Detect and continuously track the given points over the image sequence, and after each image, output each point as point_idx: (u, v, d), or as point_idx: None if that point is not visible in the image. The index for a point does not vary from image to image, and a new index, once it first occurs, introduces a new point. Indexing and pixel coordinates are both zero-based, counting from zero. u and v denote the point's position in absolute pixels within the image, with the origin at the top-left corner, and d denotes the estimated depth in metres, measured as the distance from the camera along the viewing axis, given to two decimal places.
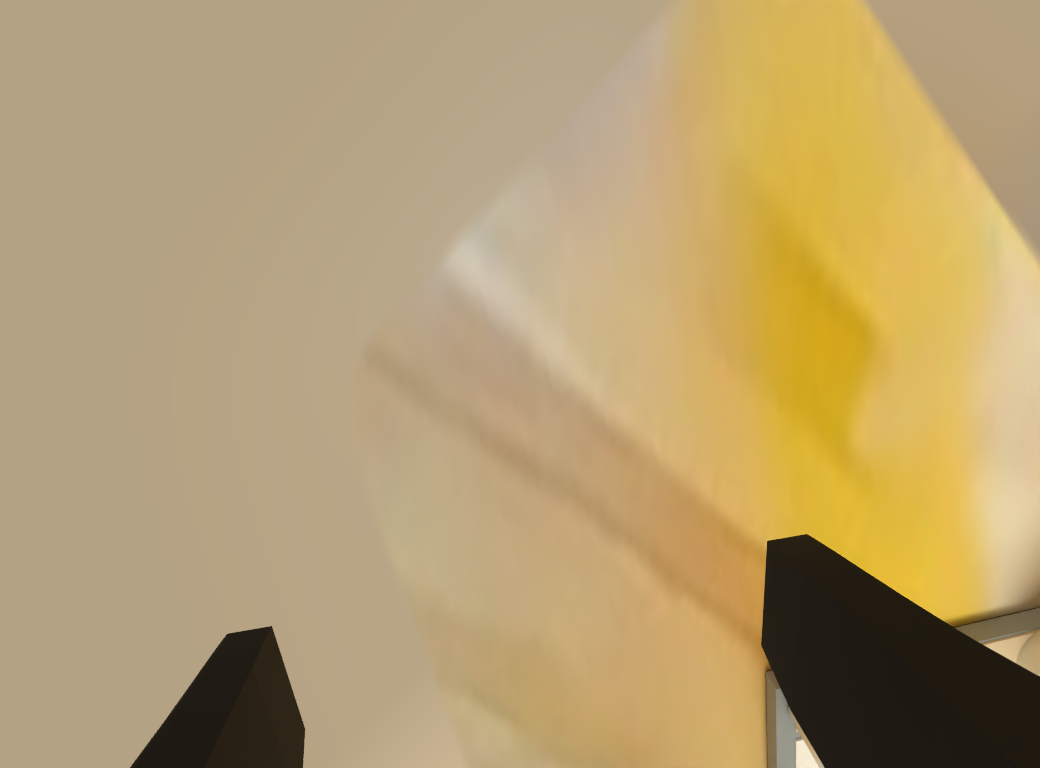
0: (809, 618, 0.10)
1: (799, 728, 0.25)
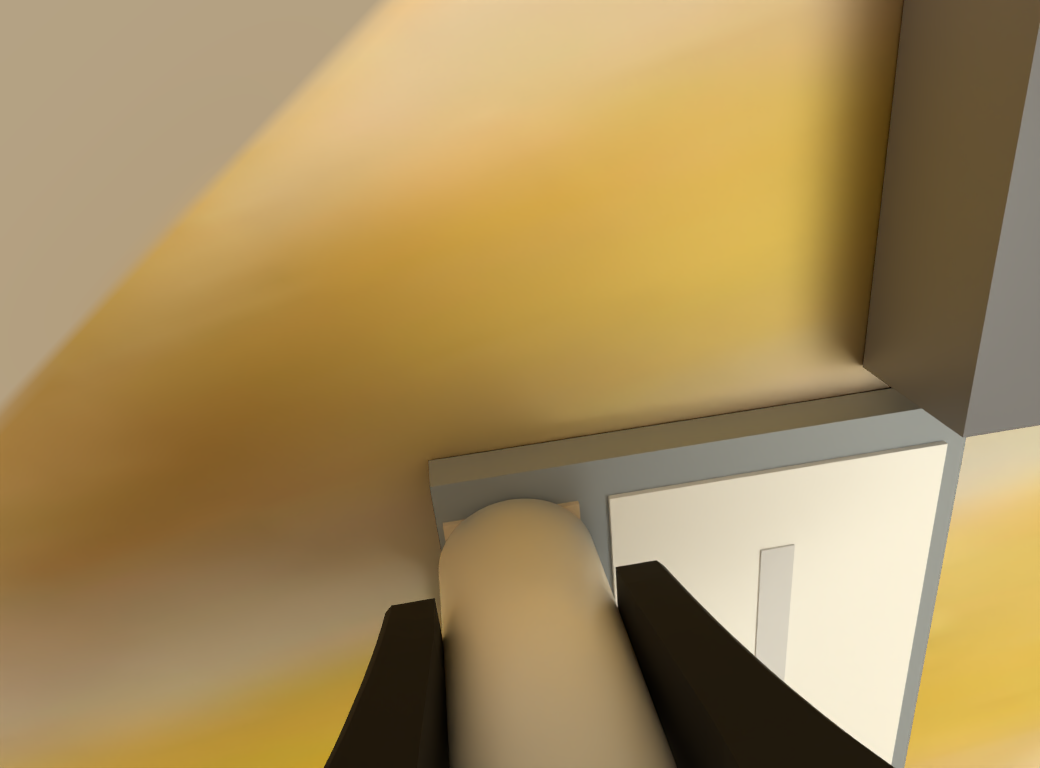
0: (642, 649, 0.09)
1: None
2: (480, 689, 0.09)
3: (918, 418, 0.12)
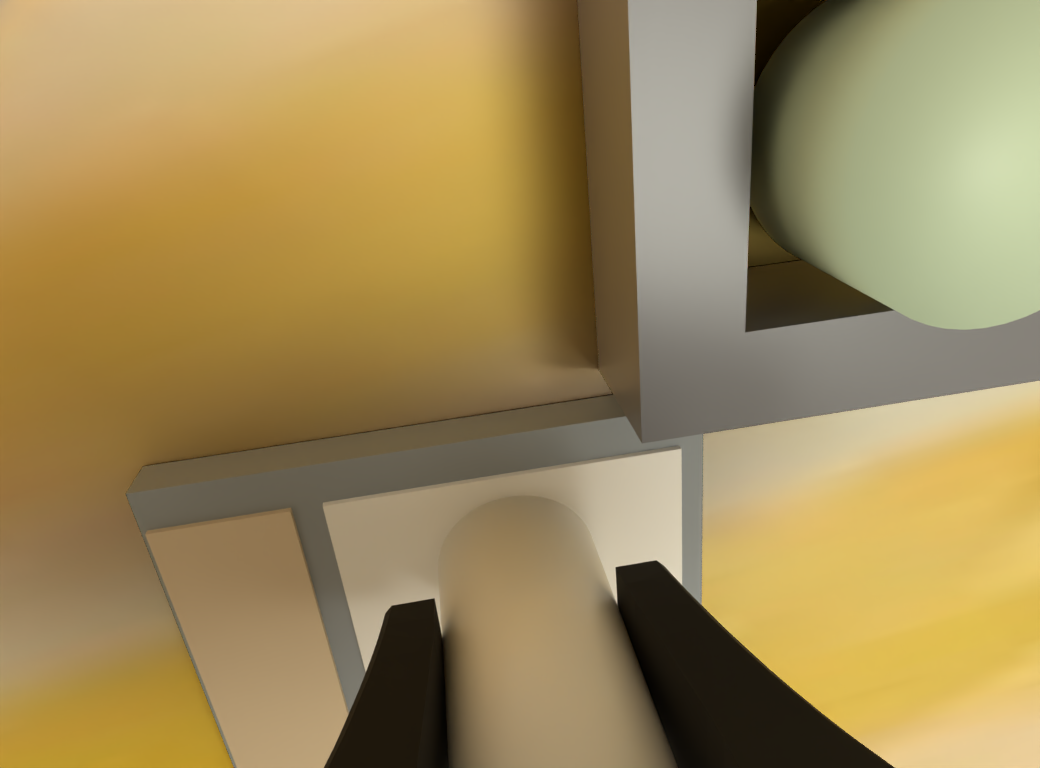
0: (642, 649, 0.09)
1: None
2: (480, 686, 0.09)
3: None
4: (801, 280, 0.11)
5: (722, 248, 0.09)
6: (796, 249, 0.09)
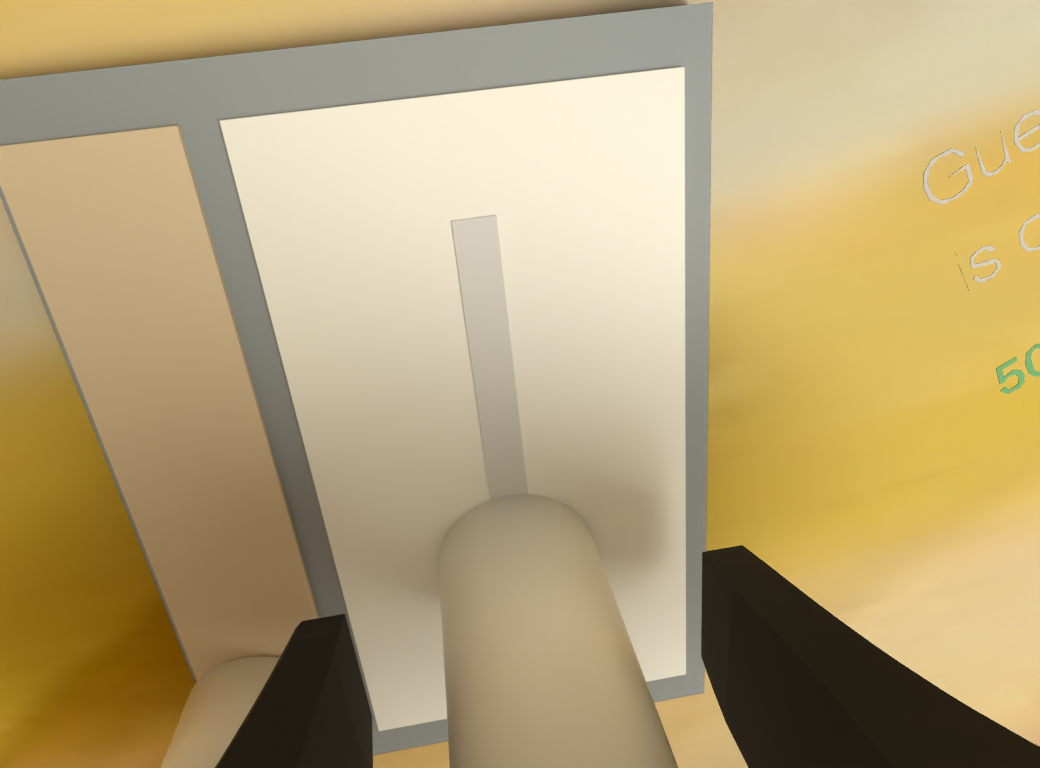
0: (737, 631, 0.09)
1: None
2: (480, 682, 0.09)
3: (640, 26, 0.09)
4: None
5: None
6: None
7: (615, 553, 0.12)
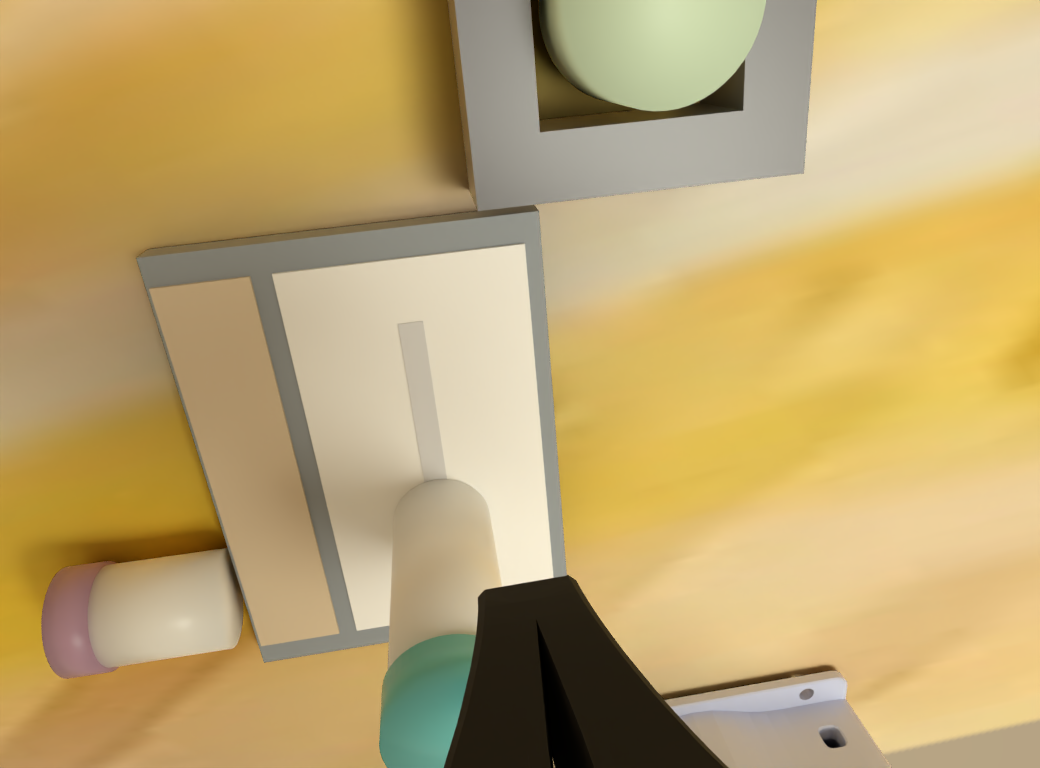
0: (544, 666, 0.09)
1: (196, 652, 0.19)
2: (406, 574, 0.16)
3: (499, 223, 0.17)
4: (598, 117, 0.16)
5: (518, 71, 0.14)
6: (570, 77, 0.14)
7: (503, 517, 0.20)
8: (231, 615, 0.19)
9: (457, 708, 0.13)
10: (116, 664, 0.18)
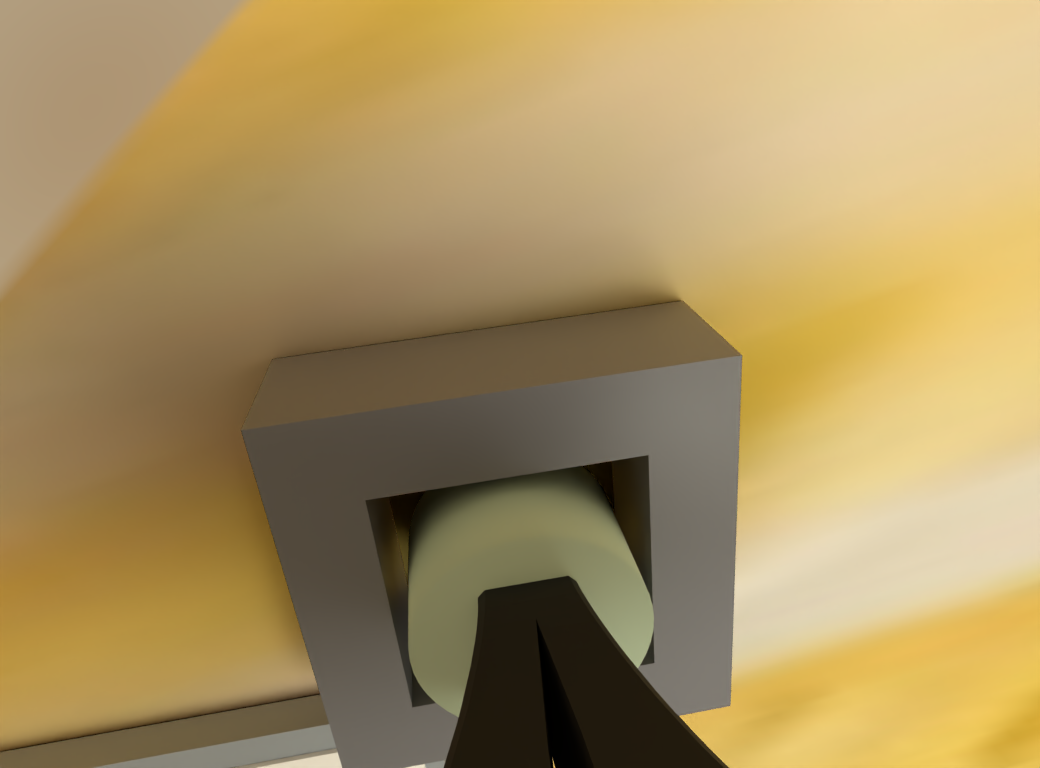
0: (544, 666, 0.09)
1: None
2: None
3: None
4: None
5: (381, 660, 0.12)
6: None
7: None
8: None
9: None
10: None
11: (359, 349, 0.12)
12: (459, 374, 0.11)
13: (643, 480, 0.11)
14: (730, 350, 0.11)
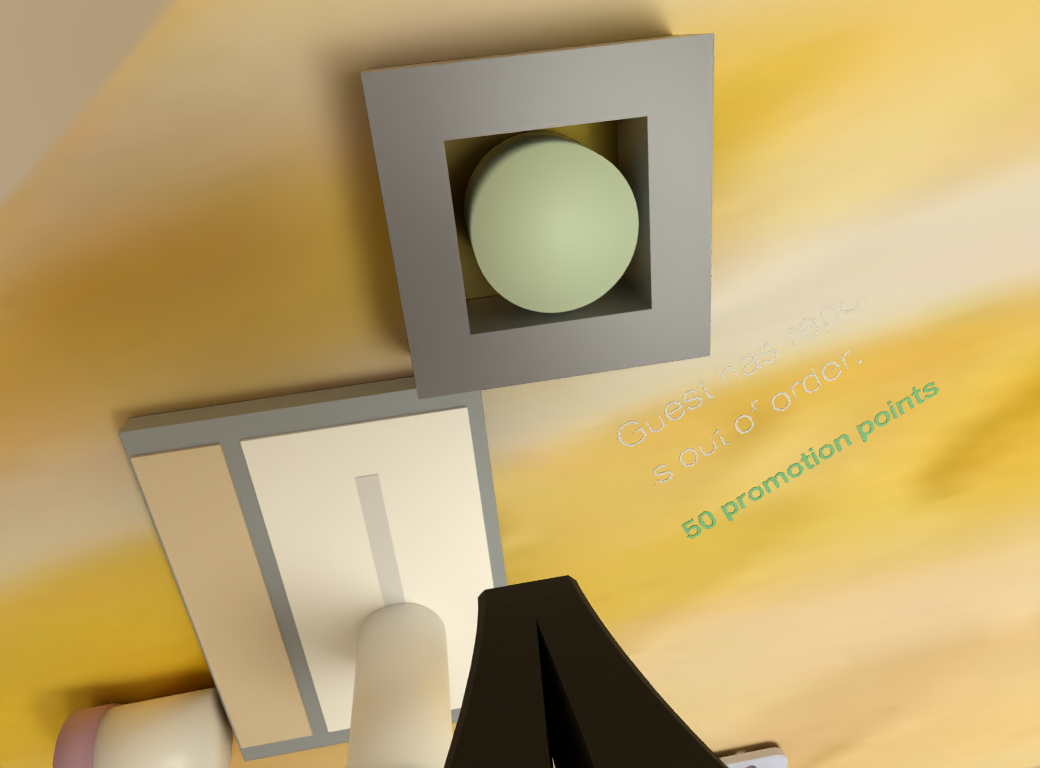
0: (544, 666, 0.09)
1: None
2: (363, 709, 0.18)
3: None
4: None
5: (449, 288, 0.16)
6: None
7: (459, 632, 0.22)
8: (223, 741, 0.22)
9: None
10: None
11: (432, 62, 0.16)
12: (510, 55, 0.15)
13: (643, 146, 0.16)
14: (706, 34, 0.15)
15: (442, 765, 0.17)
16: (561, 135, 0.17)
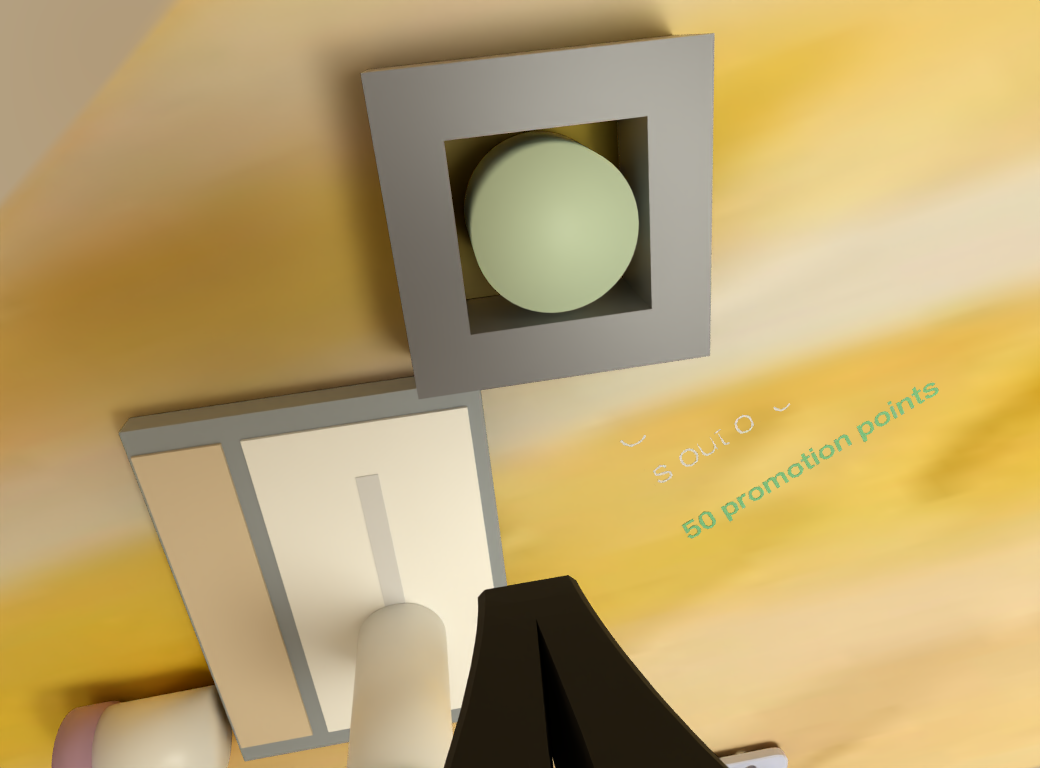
0: (544, 666, 0.09)
1: None
2: (363, 709, 0.18)
3: None
4: None
5: (449, 288, 0.16)
6: None
7: (459, 632, 0.22)
8: (222, 740, 0.22)
9: None
10: None
11: (432, 62, 0.16)
12: (510, 55, 0.15)
13: (644, 146, 0.16)
14: (706, 34, 0.15)
15: (442, 765, 0.17)
16: (561, 135, 0.17)
